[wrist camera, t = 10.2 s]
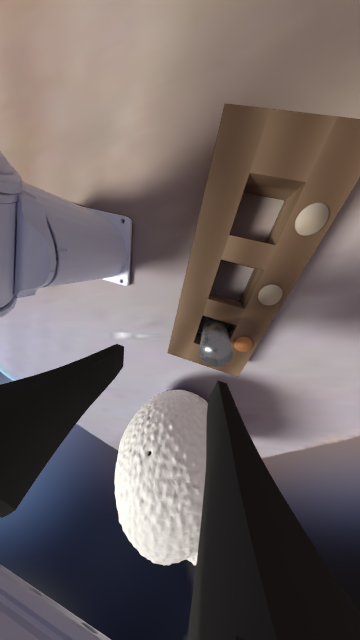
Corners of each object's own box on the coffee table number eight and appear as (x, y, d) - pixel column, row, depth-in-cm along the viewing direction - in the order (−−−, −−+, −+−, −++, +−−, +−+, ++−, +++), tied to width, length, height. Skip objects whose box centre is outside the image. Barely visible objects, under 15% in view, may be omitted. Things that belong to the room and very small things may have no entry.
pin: (201, 329, 19) (196, 362, 13) (206, 310, 18) (202, 336, 12) (222, 333, 19) (227, 370, 12) (228, 315, 17) (237, 345, 11)
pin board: (173, 341, 21) (167, 354, 18) (221, 140, 11) (225, 100, 9) (234, 361, 20) (238, 378, 17) (346, 159, 10) (397, 119, 7)
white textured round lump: (163, 347, 22) (74, 502, 8) (261, 392, 21) (359, 654, 7) (139, 408, 31) (78, 531, 17) (207, 441, 30) (203, 599, 16)
